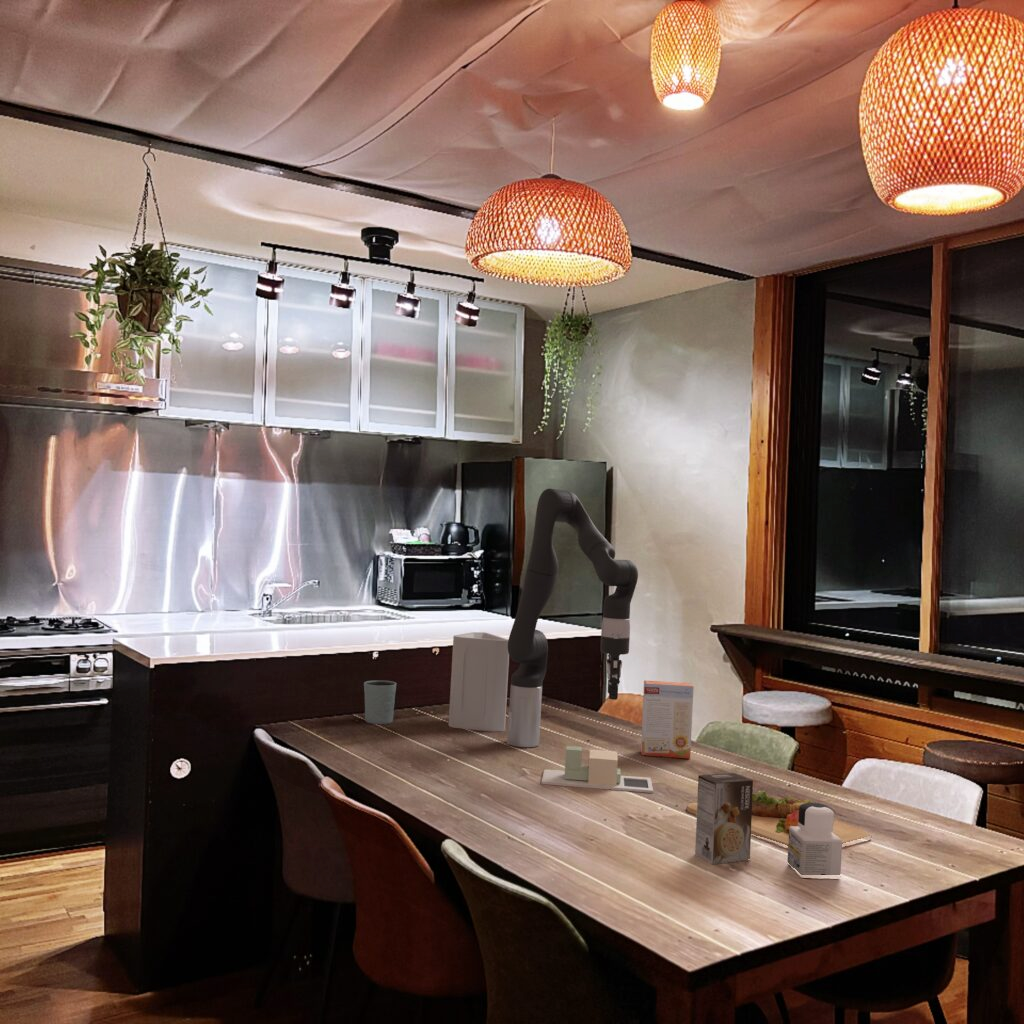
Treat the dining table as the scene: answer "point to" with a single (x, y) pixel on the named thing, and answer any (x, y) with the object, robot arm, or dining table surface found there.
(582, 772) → the sage green stepped block
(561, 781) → the white base plate
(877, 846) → the dining table surface
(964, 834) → the dining table surface
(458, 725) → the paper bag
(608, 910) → the dining table surface
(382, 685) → the grey green cup
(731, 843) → the coffee box
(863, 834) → the cutting board
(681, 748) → the cracker box
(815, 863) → the container
